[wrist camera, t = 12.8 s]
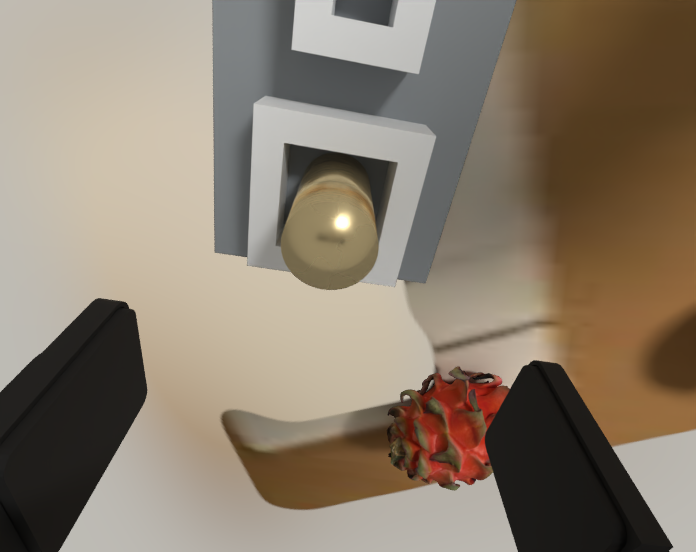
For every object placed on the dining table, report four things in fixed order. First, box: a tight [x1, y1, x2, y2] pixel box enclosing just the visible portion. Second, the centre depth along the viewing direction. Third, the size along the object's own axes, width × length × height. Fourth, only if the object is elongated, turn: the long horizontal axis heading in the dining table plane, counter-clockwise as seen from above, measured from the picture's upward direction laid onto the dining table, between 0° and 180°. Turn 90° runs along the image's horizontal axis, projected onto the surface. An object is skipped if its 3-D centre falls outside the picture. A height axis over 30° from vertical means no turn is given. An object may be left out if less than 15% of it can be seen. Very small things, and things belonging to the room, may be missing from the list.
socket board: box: [213, 0, 516, 287], centre depth 20 cm, size 20×14×4 cm
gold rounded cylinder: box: [281, 153, 379, 290], centre depth 19 cm, size 4×4×8 cm
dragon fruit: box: [387, 367, 510, 490], centre depth 31 cm, size 8×8×12 cm
